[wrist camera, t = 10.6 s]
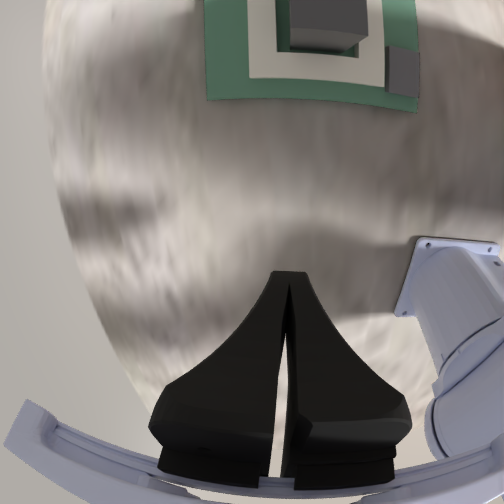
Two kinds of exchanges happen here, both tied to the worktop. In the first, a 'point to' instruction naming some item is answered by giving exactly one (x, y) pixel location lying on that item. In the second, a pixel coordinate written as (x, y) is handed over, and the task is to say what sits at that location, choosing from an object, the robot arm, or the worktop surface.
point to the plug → (327, 24)
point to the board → (310, 56)
